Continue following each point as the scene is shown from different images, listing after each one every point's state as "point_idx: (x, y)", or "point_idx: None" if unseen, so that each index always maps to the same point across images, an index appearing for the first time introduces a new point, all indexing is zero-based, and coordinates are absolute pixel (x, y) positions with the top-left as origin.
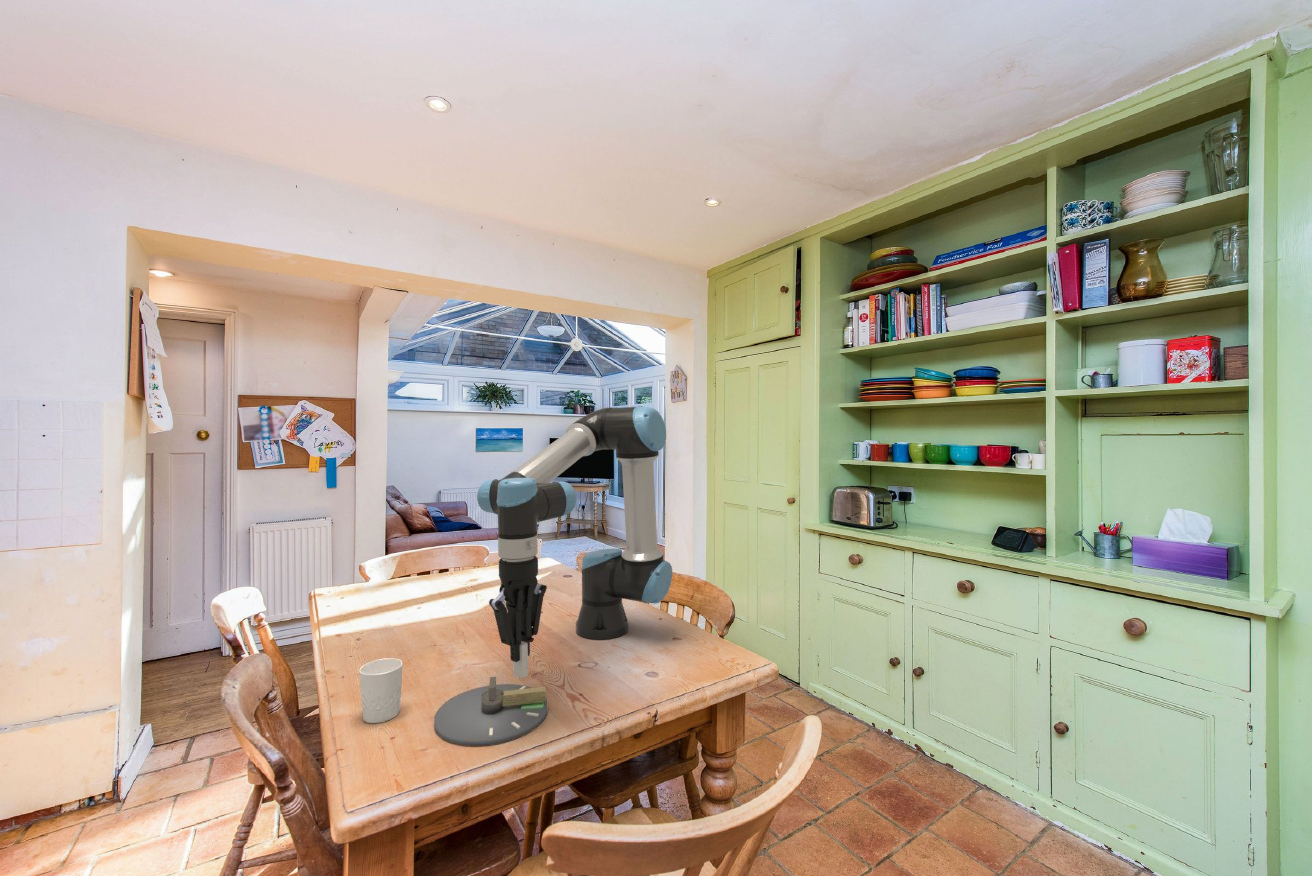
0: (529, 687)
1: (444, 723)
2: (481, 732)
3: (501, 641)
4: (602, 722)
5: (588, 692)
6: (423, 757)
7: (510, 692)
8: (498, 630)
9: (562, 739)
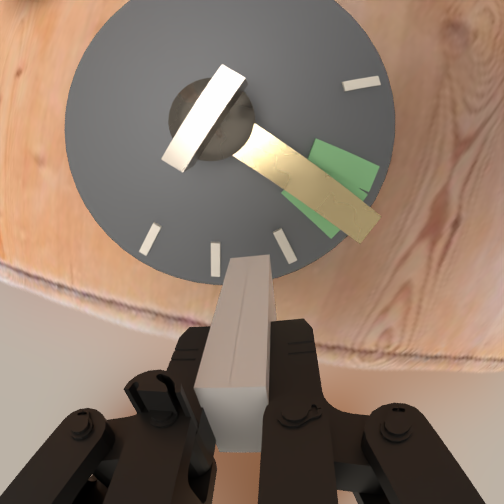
0: (389, 92)
1: (84, 104)
2: (133, 217)
3: (66, 423)
4: (379, 351)
5: (470, 231)
6: (32, 190)
7: (269, 155)
8: (6, 489)
9: None
